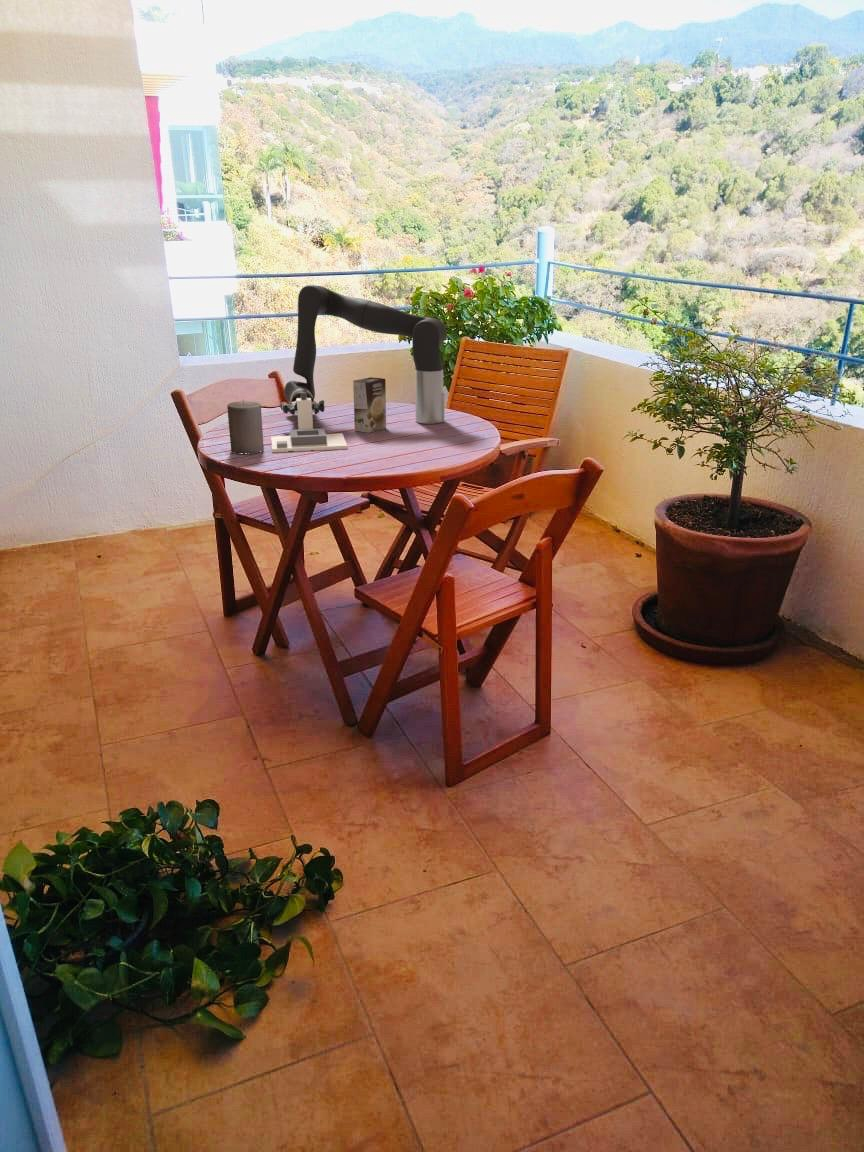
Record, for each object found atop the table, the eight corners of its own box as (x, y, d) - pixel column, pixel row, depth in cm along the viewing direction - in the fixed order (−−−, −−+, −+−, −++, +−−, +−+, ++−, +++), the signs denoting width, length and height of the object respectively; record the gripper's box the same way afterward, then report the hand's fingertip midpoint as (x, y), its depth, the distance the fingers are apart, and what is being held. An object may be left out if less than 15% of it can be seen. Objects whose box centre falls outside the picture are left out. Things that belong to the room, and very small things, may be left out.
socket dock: (342, 436, 262) (341, 425, 260) (347, 448, 247) (346, 437, 246) (271, 439, 258) (270, 428, 257) (272, 452, 243) (271, 440, 242)
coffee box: (369, 433, 266) (368, 382, 259) (354, 430, 269) (352, 380, 263) (387, 428, 273) (385, 378, 266) (371, 425, 276) (370, 376, 270)
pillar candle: (224, 453, 243) (219, 401, 237) (241, 445, 252) (237, 395, 246) (253, 456, 240) (249, 404, 234) (270, 448, 249) (267, 397, 243)
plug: (312, 432, 267) (310, 391, 262) (313, 434, 264) (311, 393, 259) (298, 432, 267) (296, 391, 262) (299, 435, 263) (296, 394, 258)
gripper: (279, 390, 273) (280, 400, 258) (323, 389, 276) (327, 398, 260) (281, 413, 276) (282, 424, 261) (324, 411, 278) (328, 422, 263)
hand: (304, 411), depth 261 cm, fingers open, 6 cm apart
